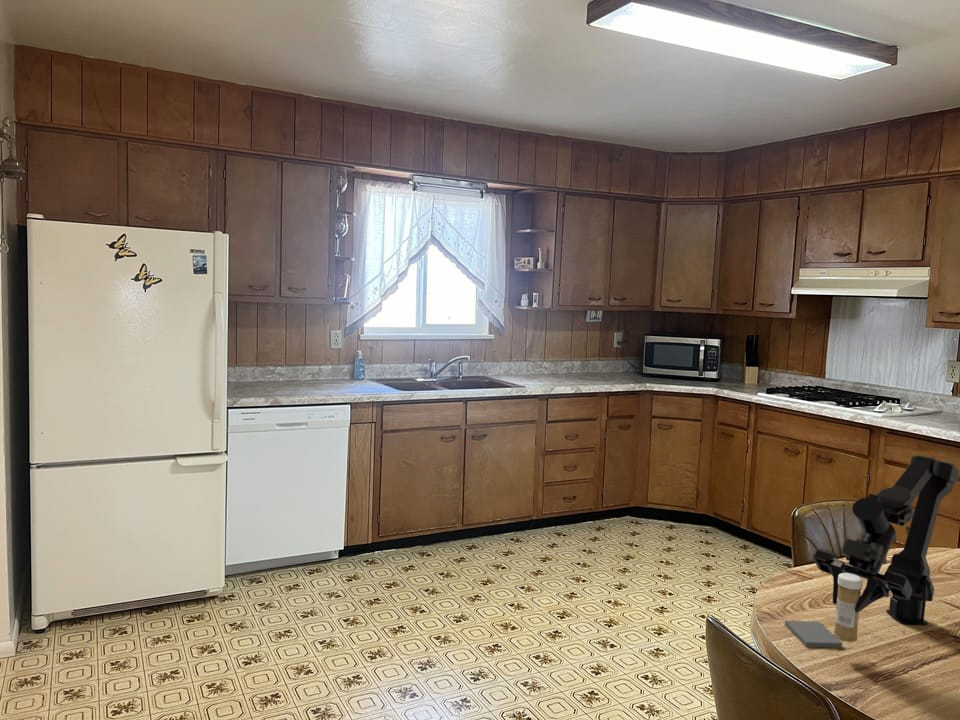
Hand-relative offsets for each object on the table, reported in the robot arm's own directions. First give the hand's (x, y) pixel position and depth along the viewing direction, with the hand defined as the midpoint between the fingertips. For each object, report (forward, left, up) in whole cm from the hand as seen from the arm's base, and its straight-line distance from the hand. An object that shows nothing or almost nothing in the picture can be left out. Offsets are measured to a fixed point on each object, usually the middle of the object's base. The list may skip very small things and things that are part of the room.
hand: (844, 607), depth 149 cm
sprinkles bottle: (-1, -1, -7) cm, 7 cm away
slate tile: (+1, -10, -11) cm, 15 cm away
